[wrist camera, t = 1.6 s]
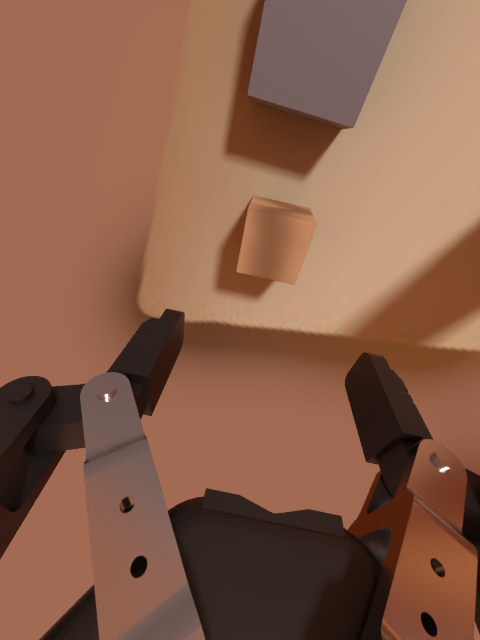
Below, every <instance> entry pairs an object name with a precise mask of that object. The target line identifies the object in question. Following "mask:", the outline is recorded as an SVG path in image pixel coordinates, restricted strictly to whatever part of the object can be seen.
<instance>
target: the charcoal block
mask: <svg viewBox="0 0 480 640" xmlns="http://www.w3.org/2000/svg"><path fill="white" fill-rule="evenodd" d="M406 1H407V0H265V2H264V8H263V13H262V18H261V24H260V29H259V34H258V40H257V45H256V50H255V56H254V61H253V66H252V72H251V77H250V83H249V88H248V93H247V95H248V97H249V98H250V99H251V101H252V102H255V103H258V104H262V105H265V106H268V107H271V108H275V109H278V110H281V111H284V112H287V113H291V114H294V115H297V116H300V117H304V118H307V119H310V120H313V121H317V122H320V123H323V124H326V125H329V126H333V127H336V128H339V129H348V128H354V126H355V123H356V121H357V118H358V116H359V114H360V111H361V109H362V106H363V104H364V102H365V99H366V97H367V94H368V92H369V90H370V87H371V85H372V82H373V80H374V78H375V75H376V73H377V70H378V68H379V66H380V63H381V61H382V58H383V56H384V54H385V51H386V49H387V46H388V44H389V42H390V39H391V37H392V34H393V32H394V30H395V27H396V25H397V22H398V20H399V18H400V15H401V13H402V10H403V8H404V6H405V3H406Z"/></svg>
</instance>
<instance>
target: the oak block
mask: <svg viewBox="0 0 480 640" xmlns="http://www.w3.org/2000/svg"><path fill="white" fill-rule="evenodd" d="M316 225H317V223H316V221H315V219H314V217H313V215H312V213H311V211H310V208H306V207H302V206H297V205H293V204H288V203H284V202H280V201H275V200H271V199H266V198H262V197H257V196H253V198H252V200H251V203H250V205H249V207H248V211H247V217H246V222H245V227H244V233H243V238H242V244H241V249H240V254H239V260H238V265H237V270H236V272H238V273H243V274H247V275H252V276H256V277H261V278H265V279H270V280H274V281H279V282H283V283H288V284H293V285H295V283H296V280H297V277H298V274H299V272H300V269H301V266H302V263H303V261H304V258H305V255H306V253H307V250H308V247H309V244H310V242H311V239H312V236H313V233H314V231H315V228H316Z"/></svg>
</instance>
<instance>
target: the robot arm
mask: <svg viewBox="0 0 480 640" xmlns="http://www.w3.org/2000/svg"><path fill="white" fill-rule="evenodd" d="M184 317H185V315H184V312H180V311H176V310H171V309H166V310H165V311H164V313H163V314H162V316H161V318H160V319H157V318H150V319H149V320H147V321H146V322H144V323H142V324H141V326H140V327H139V328H138V330H137V331H136V333H135V334H134V335H133V337H132V338H131V340H130V342H128V344H127V345H126V347H125V348H124V350H123V351H122V352H121V354H120V355H119V356H118V358H117V359H116V360H115V362H114V363H113V365H112V366H111V367H110V369H109V370H108V371H107V372H106V373H103V374H100V375H97V376H95V377H93V378H92V379H90V380H89V381H88V382H87V383H85V384H80V385H69V386H54V387H52V386H51V384H50V382H49V381H48V380H47V379H45V378H43V377H39V376H28V377H22V378H19V379H16V380H13V381H11V382H9V383H7V384H6V385H4V386H2V387H1V388H0V559H1V557H2V556H3V554H4V552H5V551H6V549H7V547H8V546H9V544H10V542H11V541H12V539H13V537H14V535H15V534H16V532H17V531H18V529H19V527H20V526H21V524H22V522H23V521H24V519H25V517H26V516H27V514H28V513H29V511H30V509H31V507H32V506H33V504H34V502H35V501H36V499H37V498H38V496H39V494H40V492H41V491H42V489H43V488H44V486H45V484H46V483H47V481H48V479H49V478H50V476H51V474H52V473H53V471H54V469H55V468H56V466H57V465H58V463H59V461H60V460H61V458H62V456H63V455H64V453H65V451H66V450H71V449H78V448H86V461H85V462H84V482H85V493H86V503H87V513H88V524H89V534H90V545H91V555H92V567H93V577H94V585H93V586H92V587H91V588H90V589H89V590H88V591H87V592H86V593H85V594H84V595H83V596H82V597H81V598H80V599H79V600H78V601H77V602H76V603H75V604H74V605H73V606H72V607H71V608H70V609H69V610H68V611H67V612H66V613H65V614H64V615H63V616H62V617H61V618H60V619H59V620H58V621H57V622H56V623H55V624H54V625H53V626H52V627H51V628H50V630H48V631H47V632H46V633H45V634H44V635H43V636H42V637H41V638H40V639H39V640H474V623H476V625H477V628H478V631H479V633H480V476H479V475H477V474H475V473H473V472H471V471H469V470H467V469H465V468H464V466H463V464H462V463H461V461H460V460H459V459H458V457H457V456H456V455H455V454H454V453H453V452H452V451H451V450H450V449H449V448H447V447H446V446H444V445H443V444H441V443H439V442H437V441H435V440H433V438H432V437H431V434H430V432H429V430H428V429H427V427H426V425H425V423H424V421H423V419H422V417H421V415H420V413H419V411H418V409H417V407H416V406H415V404H413V400H412V398H411V396H410V395H409V394H408V390H407V388H406V387H405V385H404V383H403V381H402V380H401V379H400V378H399V377H398V375H397V374H396V373H395V372H394V371H393V370H391V369H390V367H389V365H388V363H387V361H386V359H385V358H384V357H383V356H379V355H375V354H370V353H362V354H361V356H360V357H359V358H358V360H357V361H356V363H355V364H354V365H353V367H352V368H351V370H350V371H349V372H348V374H347V376H346V379H345V388H346V391H347V395H348V399H349V402H350V406H351V409H352V413H353V416H354V420H355V424H356V427H357V431H358V435H359V438H360V442H361V445H362V449H363V453H364V456H365V460H366V462H368V463H373V464H378V465H379V467H380V471H379V472H378V473H377V474H376V476H375V479H374V481H373V483H372V486H371V488H370V491H369V493H368V495H367V498H366V500H365V502H364V505H363V507H362V509H361V512H360V514H359V516H358V517H357V519H356V520H355V521H354V522H353V523H352V525H351V526H350V527H349V529H348V530H346V529H345V528H343V522H342V517H341V516H339V515H333V514H329V513H324V512H319V511H314V510H309V509H308V510H300V511H293V512H285V513H278V514H277V513H276V514H275V513H272V512H269V511H268V510H266V509H264V508H262V507H260V506H259V505H257V504H255V503H253V502H251V501H249V500H248V499H246V498H244V497H242V496H240V495H236V494H232V493H227V492H222V491H217V490H212V489H206V491H205V495H204V497H198V498H193V499H190V500H187V501H184V502H182V503H180V504H178V505H176V506H175V507H173V508H171V509H170V510H169V511H167V507H166V504H165V500H164V497H163V493H162V489H161V486H160V482H159V479H158V475H157V472H156V468H155V465H154V461H153V458H152V454H151V451H150V447H149V444H148V441H147V438H146V436H145V434H144V432H143V428H142V424H141V420H140V419H141V417H142V415H143V414H145V415H149V416H152V413H153V411H154V409H155V407H156V404H157V402H158V400H159V398H160V395H161V393H162V391H163V389H164V386H165V384H166V382H167V379H168V378H169V375H170V373H171V371H172V368H173V366H174V364H175V362H176V360H177V357H178V355H179V353H180V350H181V348H182V343H183V338H184Z"/></svg>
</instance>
